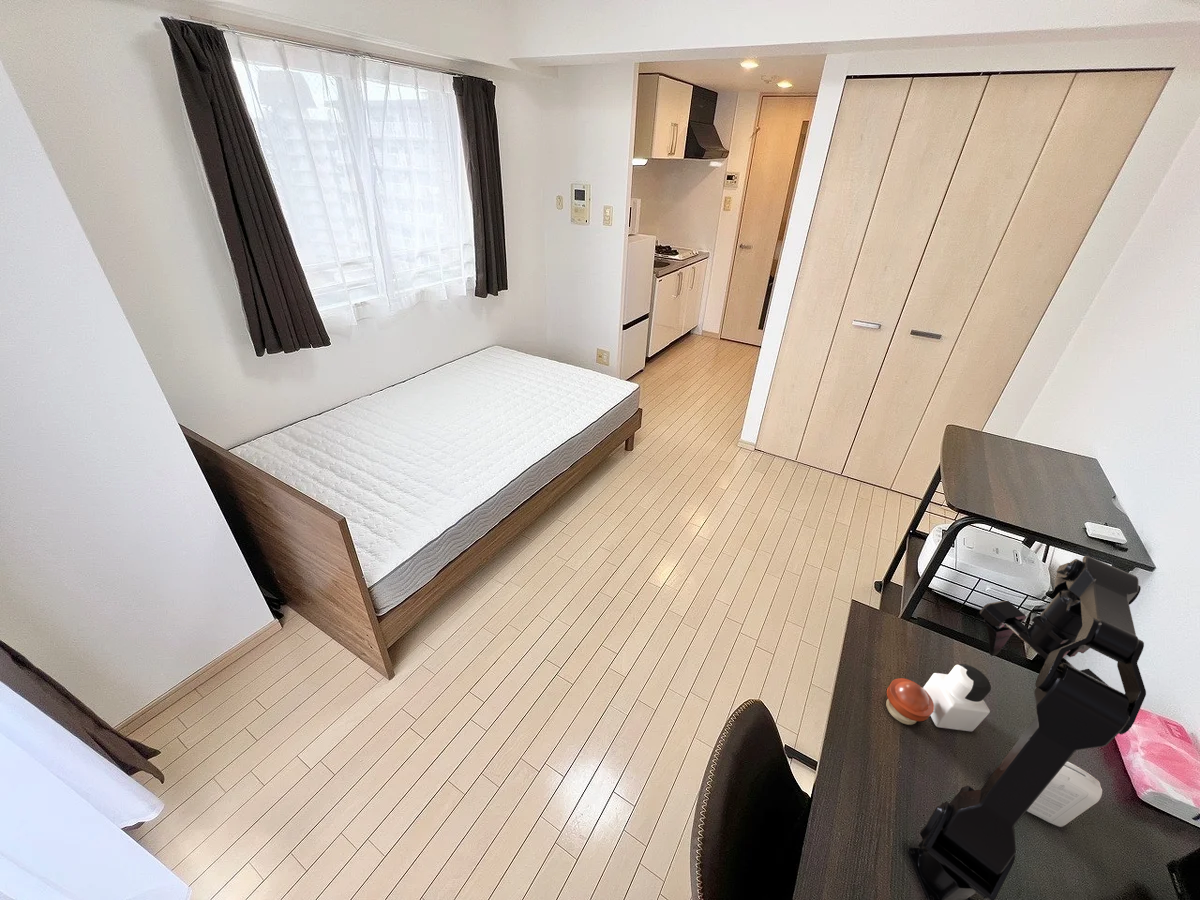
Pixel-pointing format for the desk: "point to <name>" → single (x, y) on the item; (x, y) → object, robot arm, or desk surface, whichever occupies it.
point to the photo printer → (1067, 796)
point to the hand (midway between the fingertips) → (1015, 676)
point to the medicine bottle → (959, 698)
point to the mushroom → (908, 701)
